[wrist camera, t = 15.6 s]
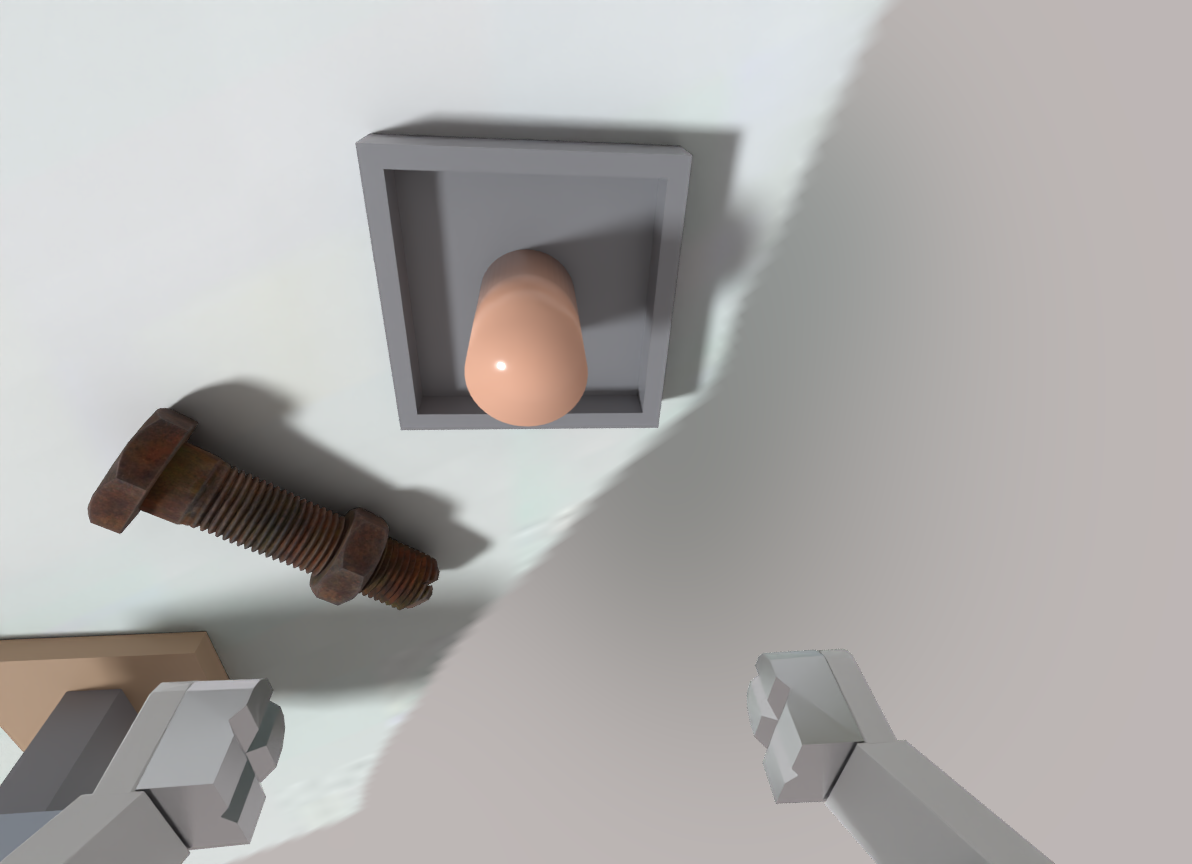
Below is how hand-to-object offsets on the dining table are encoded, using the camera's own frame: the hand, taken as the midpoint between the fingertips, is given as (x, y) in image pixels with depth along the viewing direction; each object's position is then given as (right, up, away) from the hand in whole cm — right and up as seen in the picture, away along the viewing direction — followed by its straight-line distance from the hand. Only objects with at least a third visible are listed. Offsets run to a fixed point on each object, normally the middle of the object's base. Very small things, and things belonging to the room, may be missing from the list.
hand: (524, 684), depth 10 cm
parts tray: (-2, +10, +16) cm, 19 cm away
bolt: (-14, +1, +21) cm, 26 cm away
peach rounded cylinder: (-2, +10, +15) cm, 18 cm away
